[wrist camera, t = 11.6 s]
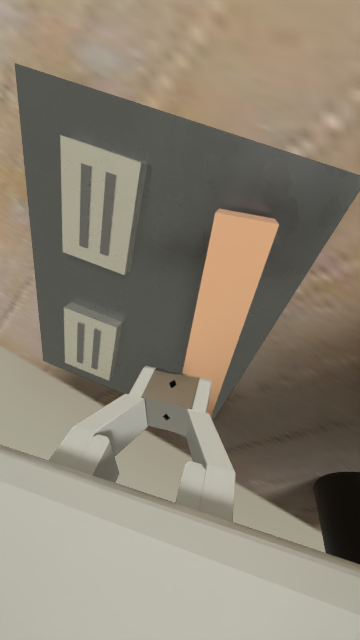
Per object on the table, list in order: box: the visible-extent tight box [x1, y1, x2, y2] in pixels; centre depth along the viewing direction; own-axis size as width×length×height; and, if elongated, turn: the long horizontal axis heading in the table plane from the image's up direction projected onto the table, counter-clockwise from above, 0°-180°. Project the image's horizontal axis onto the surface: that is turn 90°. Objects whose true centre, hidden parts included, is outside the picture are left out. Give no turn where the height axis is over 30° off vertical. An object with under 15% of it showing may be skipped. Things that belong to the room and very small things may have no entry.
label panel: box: [15, 63, 360, 421], centre depth 19 cm, size 24×20×3 cm
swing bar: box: [179, 209, 279, 439], centre depth 16 cm, size 17×3×5 cm, turn 172°
